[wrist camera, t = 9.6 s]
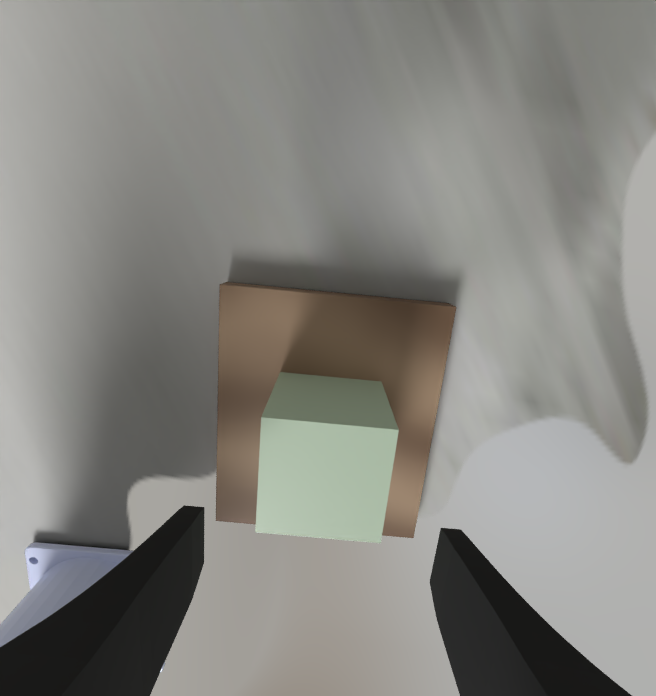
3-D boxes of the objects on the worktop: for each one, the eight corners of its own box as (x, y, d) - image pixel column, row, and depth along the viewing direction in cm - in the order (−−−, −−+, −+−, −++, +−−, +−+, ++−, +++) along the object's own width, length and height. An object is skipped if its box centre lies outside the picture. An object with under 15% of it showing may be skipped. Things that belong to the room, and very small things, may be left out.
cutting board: (409, 522, 22) (413, 538, 21) (222, 506, 22) (215, 520, 21) (448, 303, 18) (456, 307, 17) (226, 282, 18) (219, 284, 17)
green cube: (368, 470, 20) (380, 543, 15) (274, 461, 20) (255, 532, 15) (381, 381, 18) (398, 429, 14) (280, 372, 18) (261, 417, 13)
